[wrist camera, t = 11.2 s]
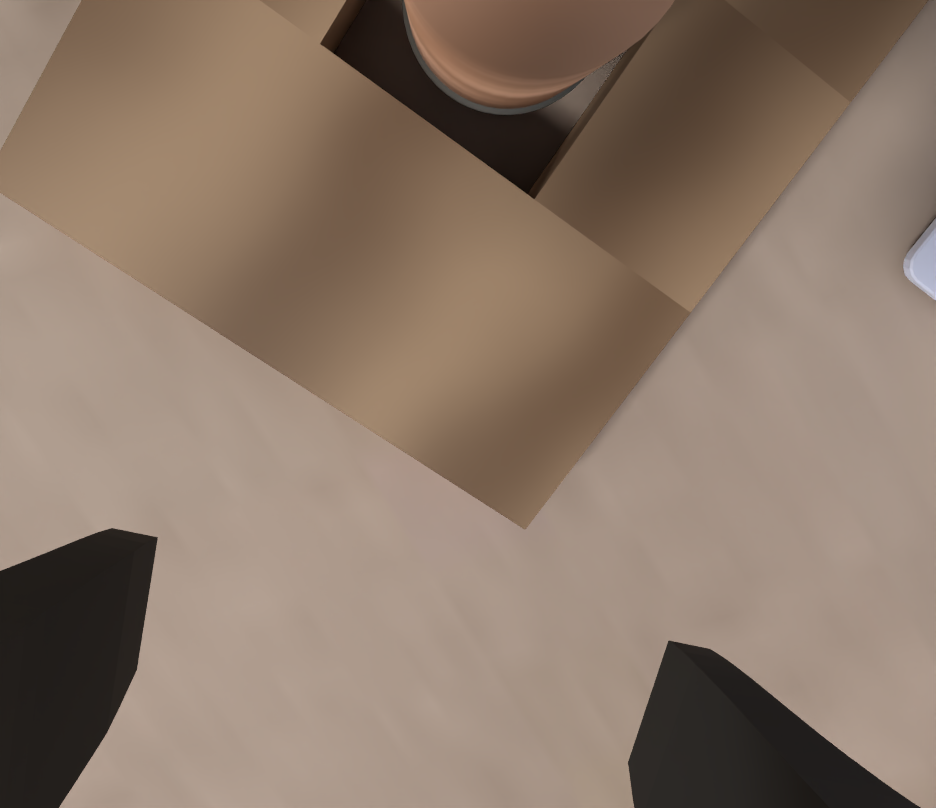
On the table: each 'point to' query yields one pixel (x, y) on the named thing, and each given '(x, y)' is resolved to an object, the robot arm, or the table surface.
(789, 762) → the robot arm
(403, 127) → the board
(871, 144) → the table surface
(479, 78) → the peg
